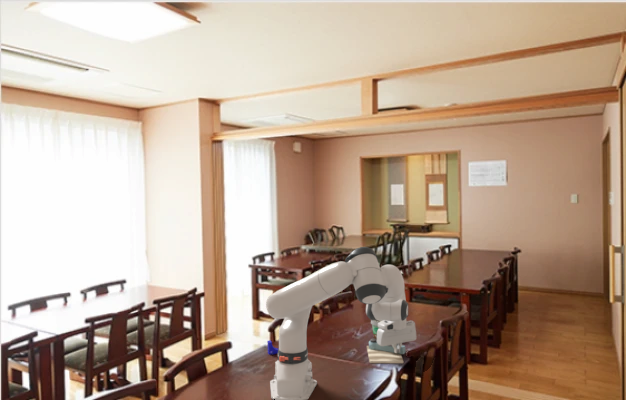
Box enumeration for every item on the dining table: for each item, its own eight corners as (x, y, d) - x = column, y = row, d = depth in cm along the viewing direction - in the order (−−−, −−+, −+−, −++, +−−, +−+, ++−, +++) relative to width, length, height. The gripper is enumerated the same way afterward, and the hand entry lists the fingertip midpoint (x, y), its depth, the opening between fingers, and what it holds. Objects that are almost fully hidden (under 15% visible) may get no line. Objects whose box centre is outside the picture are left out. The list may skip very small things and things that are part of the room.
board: (403, 363, 196) (403, 351, 196) (369, 363, 197) (369, 351, 197) (397, 347, 216) (397, 337, 216) (366, 347, 217) (366, 337, 217)
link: (367, 348, 212) (367, 342, 212) (371, 345, 216) (370, 339, 216) (402, 354, 203) (402, 348, 203) (405, 351, 207) (405, 345, 207)
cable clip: (290, 348, 218) (290, 336, 218) (293, 351, 214) (292, 339, 214) (267, 352, 214) (266, 339, 214) (269, 355, 210) (268, 342, 210)
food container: (367, 340, 229) (367, 320, 229) (371, 336, 234) (371, 317, 234) (390, 343, 223) (390, 323, 223) (394, 339, 229) (393, 320, 229)
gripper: (410, 318, 211) (411, 347, 211) (374, 323, 203) (375, 353, 203) (419, 321, 205) (419, 351, 205) (382, 327, 197) (382, 358, 197)
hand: (397, 352), depth 204 cm, fingers closed
